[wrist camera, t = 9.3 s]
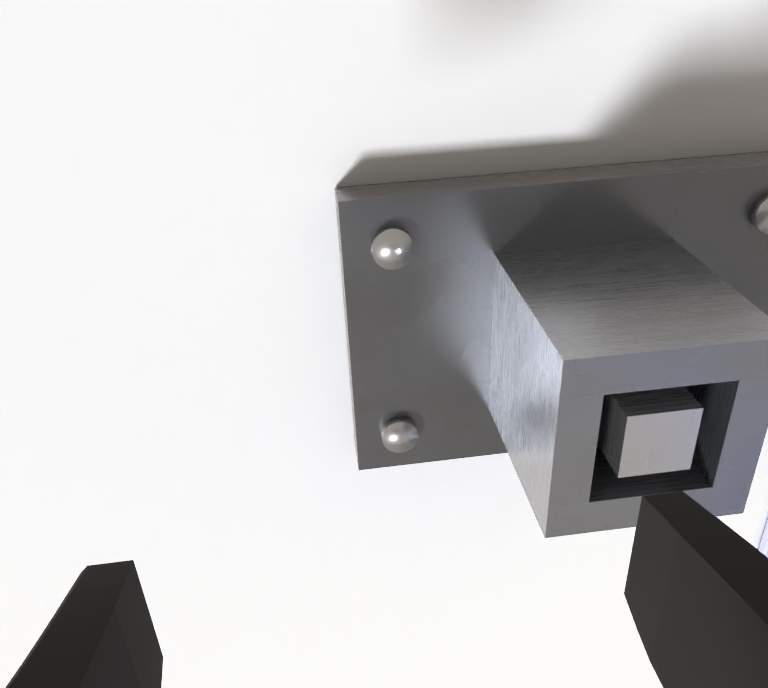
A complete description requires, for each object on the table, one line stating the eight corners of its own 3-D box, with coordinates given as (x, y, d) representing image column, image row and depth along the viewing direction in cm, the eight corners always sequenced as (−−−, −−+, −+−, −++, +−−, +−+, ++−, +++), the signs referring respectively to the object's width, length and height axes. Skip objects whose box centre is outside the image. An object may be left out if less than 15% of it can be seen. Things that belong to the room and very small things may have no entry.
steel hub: (672, 238, 18) (792, 336, 14) (646, 389, 21) (742, 512, 17) (494, 254, 18) (563, 360, 14) (487, 407, 20) (545, 537, 16)
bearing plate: (801, 148, 19) (1000, 237, 14) (738, 403, 23) (872, 545, 18) (334, 187, 18) (359, 299, 13) (355, 448, 22) (380, 612, 17)
